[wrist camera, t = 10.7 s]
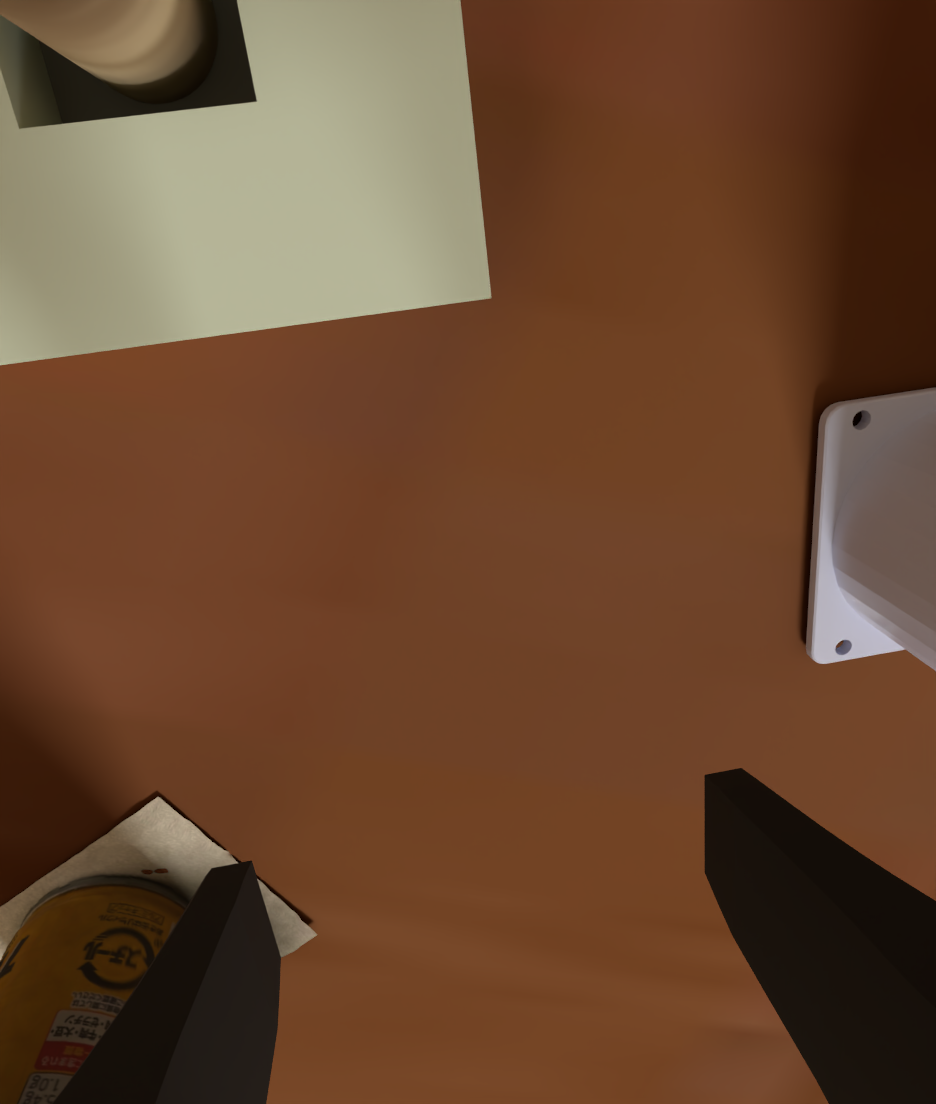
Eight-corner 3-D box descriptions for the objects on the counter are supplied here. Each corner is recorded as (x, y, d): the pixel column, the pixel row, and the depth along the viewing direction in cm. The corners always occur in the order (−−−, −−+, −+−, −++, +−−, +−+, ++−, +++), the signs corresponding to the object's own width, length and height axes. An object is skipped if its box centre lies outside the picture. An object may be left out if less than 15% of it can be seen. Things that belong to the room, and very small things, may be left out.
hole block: (393, -401, 13) (400, -575, 11) (472, 293, 18) (491, 298, 15) (-306, -354, 13) (-499, -531, 10) (-39, 362, 17) (-119, 381, 14)
